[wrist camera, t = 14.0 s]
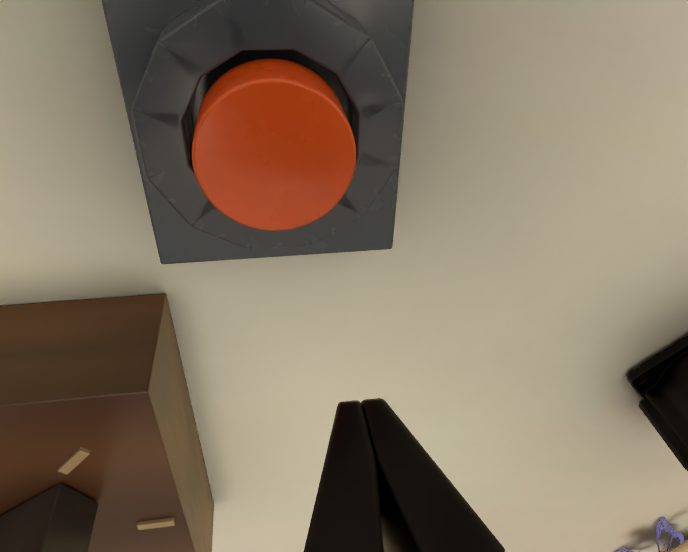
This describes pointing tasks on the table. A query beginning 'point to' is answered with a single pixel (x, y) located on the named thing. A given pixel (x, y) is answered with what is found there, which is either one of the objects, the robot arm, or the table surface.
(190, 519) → the dial console
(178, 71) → the button box
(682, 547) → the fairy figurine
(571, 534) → the table surface
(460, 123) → the table surface
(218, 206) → the button
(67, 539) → the upright dark panel
